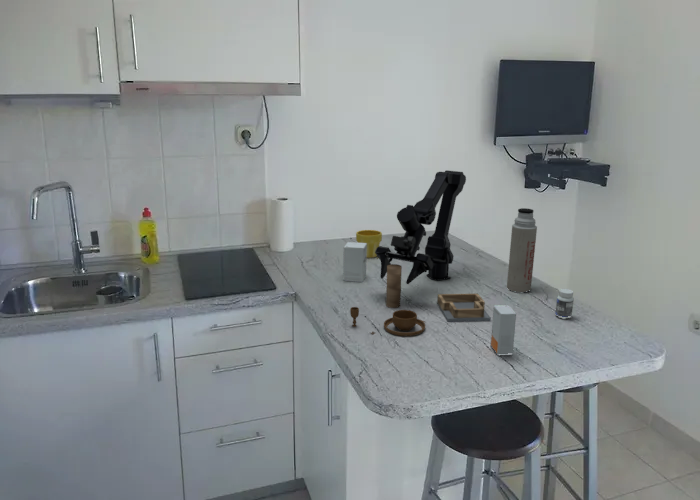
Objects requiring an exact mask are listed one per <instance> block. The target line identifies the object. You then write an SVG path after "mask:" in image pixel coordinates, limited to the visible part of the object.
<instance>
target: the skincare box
mask: <svg viewBox="0 0 700 500" xmlns="http://www.w3.org/2000/svg"><path fill="white" fill-rule="evenodd" d="M516 320H517V313H516V312H515V311H514V309H513V308H512V307H511V306H510V305H508V304H507V305H505V304H502V305H498V304H497V305H493V311H492V320H491V321H492V323H491V334H490V335H491V336H490V347H491V346H492V347H491V349H492V348H493V349H494V350H495V351H496V353H497V354H508V353H513V354H514V342H515V333H516ZM493 349H492V350H493ZM494 350H493V351H494ZM496 353H495V354H496Z"/></svg>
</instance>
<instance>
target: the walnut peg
mask: <svg viewBox="0 0 700 500" xmlns="http://www.w3.org/2000/svg"><path fill="white" fill-rule="evenodd" d="M402 268H403V267H402V265H400V264H396V263H395V264H394V263H391V265H388V266H387V273H386V297H385V306H386V307H387V308H389V309H397V308H398V309H399V308H400V307H401V299H402V298H401V296H402V295H401V294H402V292H401V291H402V271H403V270H402Z"/></svg>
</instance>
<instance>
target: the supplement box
mask: <svg viewBox="0 0 700 500" xmlns="http://www.w3.org/2000/svg"><path fill="white" fill-rule="evenodd" d="M367 259H368V258H367V243H358V242H357V241H356V242H355V241H354V242H351V241H347V242H346V243H345V245H344V246H343V263H342V265H343V273H342V274H343V275H342V276H343V277H342V278H343V281H344V282H345V281H346V282H354V283H355V282H356V283H357V282H358V283H363V282H364V281H365V278H366V277H367Z"/></svg>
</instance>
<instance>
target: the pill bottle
mask: <svg viewBox="0 0 700 500" xmlns="http://www.w3.org/2000/svg"><path fill="white" fill-rule="evenodd" d="M573 296H574V291H573V290H572V289H568V288H561V289H559V290H558V295H557V298H556V306H555V312H554V315H555V314H556V315H558V316H562V317H568V316H571V315H573V309H574V308H573V307H574V297H573Z"/></svg>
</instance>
